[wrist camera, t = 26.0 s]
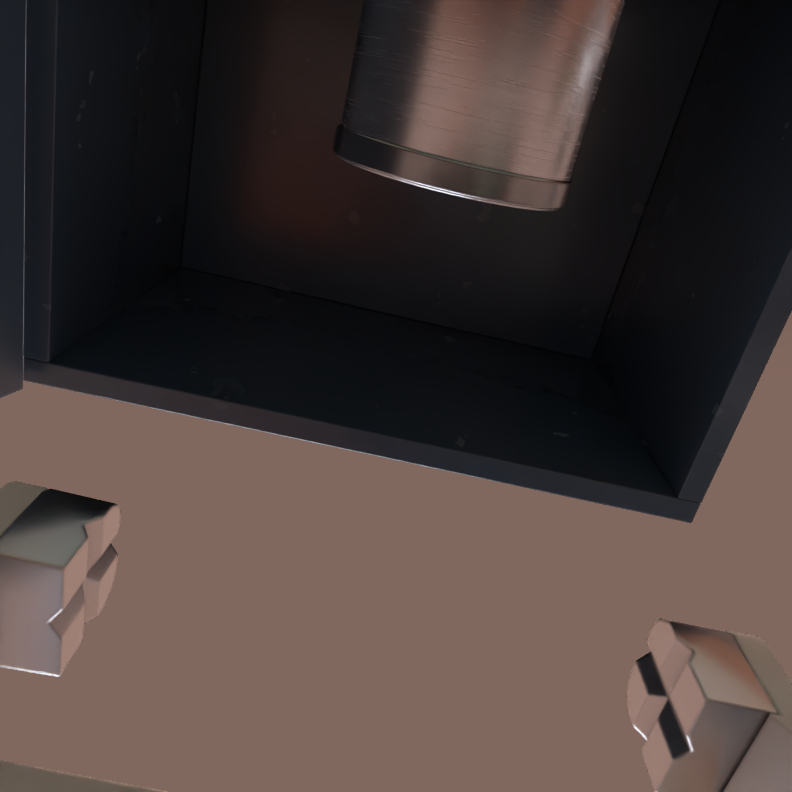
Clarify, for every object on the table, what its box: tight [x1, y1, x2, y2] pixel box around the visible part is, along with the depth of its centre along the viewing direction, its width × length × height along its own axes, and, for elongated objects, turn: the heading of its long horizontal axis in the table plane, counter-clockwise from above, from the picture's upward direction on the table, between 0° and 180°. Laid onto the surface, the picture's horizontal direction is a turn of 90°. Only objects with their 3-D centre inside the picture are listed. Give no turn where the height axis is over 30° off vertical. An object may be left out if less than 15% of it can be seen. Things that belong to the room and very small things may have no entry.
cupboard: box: [23, 0, 792, 523], centre depth 37 cm, size 20×32×26 cm, turn 92°
